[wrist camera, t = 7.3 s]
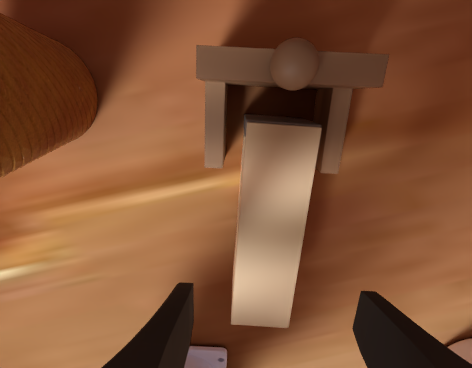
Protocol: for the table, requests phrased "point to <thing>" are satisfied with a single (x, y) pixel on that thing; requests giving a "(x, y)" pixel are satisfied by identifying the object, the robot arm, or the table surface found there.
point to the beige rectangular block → (271, 216)
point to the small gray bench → (287, 88)
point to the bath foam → (463, 349)
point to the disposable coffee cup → (39, 95)
